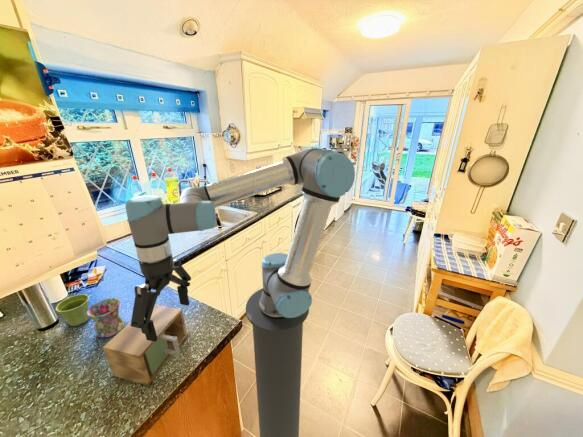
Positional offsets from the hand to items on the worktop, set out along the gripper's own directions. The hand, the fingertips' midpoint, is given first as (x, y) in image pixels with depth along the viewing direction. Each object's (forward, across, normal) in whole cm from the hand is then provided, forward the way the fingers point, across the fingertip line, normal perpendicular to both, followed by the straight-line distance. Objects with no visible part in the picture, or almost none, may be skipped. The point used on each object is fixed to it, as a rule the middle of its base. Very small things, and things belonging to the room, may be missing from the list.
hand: (170, 320), depth 68 cm
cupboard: (+18, -1, -11) cm, 21 cm away
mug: (+18, -5, -32) cm, 38 cm away
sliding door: (+17, +2, -2) cm, 17 cm away
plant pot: (+18, -7, -49) cm, 53 cm away
